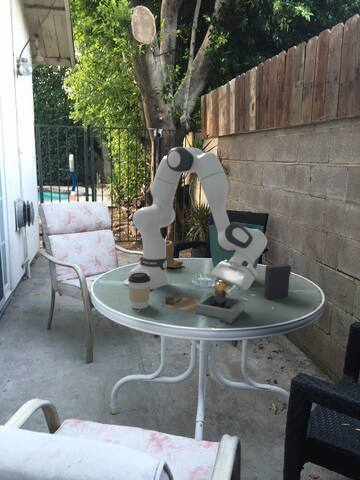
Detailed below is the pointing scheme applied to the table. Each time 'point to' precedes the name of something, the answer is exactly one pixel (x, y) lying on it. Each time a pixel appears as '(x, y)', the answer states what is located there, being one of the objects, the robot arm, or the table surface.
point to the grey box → (277, 281)
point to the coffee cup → (139, 290)
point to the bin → (223, 313)
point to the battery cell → (220, 294)
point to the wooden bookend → (171, 256)
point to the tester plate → (180, 302)
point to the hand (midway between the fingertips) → (220, 291)
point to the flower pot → (221, 255)
